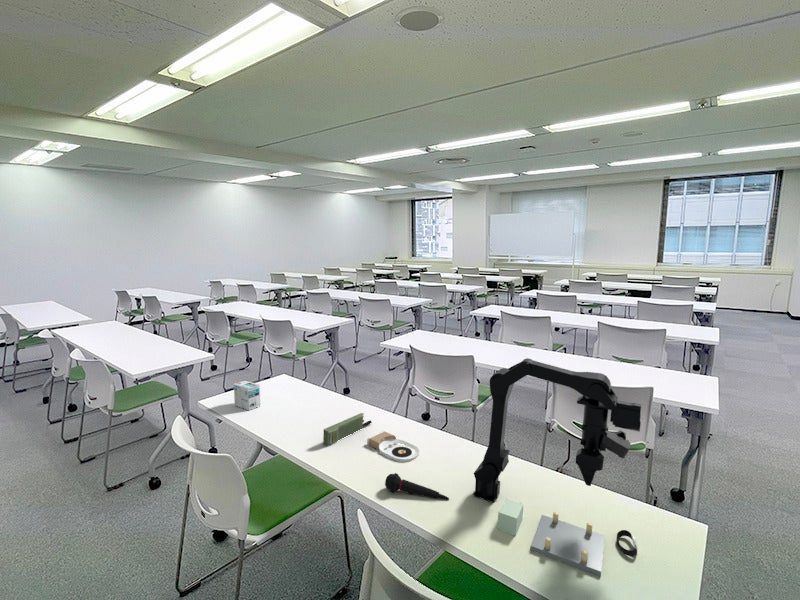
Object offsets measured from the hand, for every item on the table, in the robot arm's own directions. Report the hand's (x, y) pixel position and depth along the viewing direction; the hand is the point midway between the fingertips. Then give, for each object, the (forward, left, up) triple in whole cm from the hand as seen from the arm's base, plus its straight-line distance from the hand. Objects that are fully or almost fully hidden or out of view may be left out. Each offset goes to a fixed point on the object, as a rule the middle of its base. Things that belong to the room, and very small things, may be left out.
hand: (590, 476), depth 110 cm
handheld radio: (-88, +10, -15) cm, 90 cm away
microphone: (-47, -12, -15) cm, 51 cm away
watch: (+10, -3, -15) cm, 18 cm away
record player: (-66, +9, -15) cm, 69 cm away
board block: (-18, -10, -15) cm, 25 cm away
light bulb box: (-145, +8, -15) cm, 146 cm away
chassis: (-3, -10, -15) cm, 18 cm away
